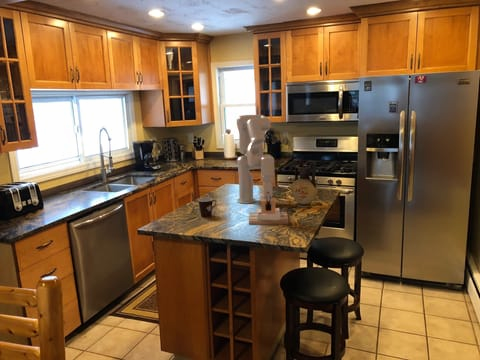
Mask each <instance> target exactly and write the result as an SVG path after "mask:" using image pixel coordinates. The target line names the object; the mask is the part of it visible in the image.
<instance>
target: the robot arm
mask: <svg viewBox="0 0 480 360" xmlns="http://www.w3.org/2000/svg"><path fill="white" fill-rule="evenodd" d="M236 127H237V131H238V134H239V135H238V136H239V137H238V138H239V141H238V145H239V146H238V147H239V149H238V150H239V152H240V153H241V154H242V155H240V156H238V157H237V159H236V166H237V171H238V172H237V173H238V192H239V193H238V194H239V196H238V199H236V201H237V203H239V204H253V203H256V201H257V200H256V198H254V176H253V173H251V171H250V170H257V169H260V180H261V182H262V198H263V199H265V198H266V204H265V205H266V211H271V199H272V198H273V183H274V182H275V180H276V179H275V158H274V157H273V156H272V155H271V154H268V153H265V154H264V144H263V143H264V142H265V141H266V139H265V135H264V132H269V131H270V130H271V127H272V126H271V121H270V119H269V118H268V117H267V116H265V115H263V114H244V115H239V116H238V117H237V119H236Z"/></svg>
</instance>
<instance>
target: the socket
mask: <svg viewBox="0 0 480 360" xmlns="http://www.w3.org/2000/svg"><path fill="white" fill-rule="evenodd" d="M275 211H276V213H262V212H261V208H256V213H257V220H280V207H277V208H276V207H275Z"/></svg>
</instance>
